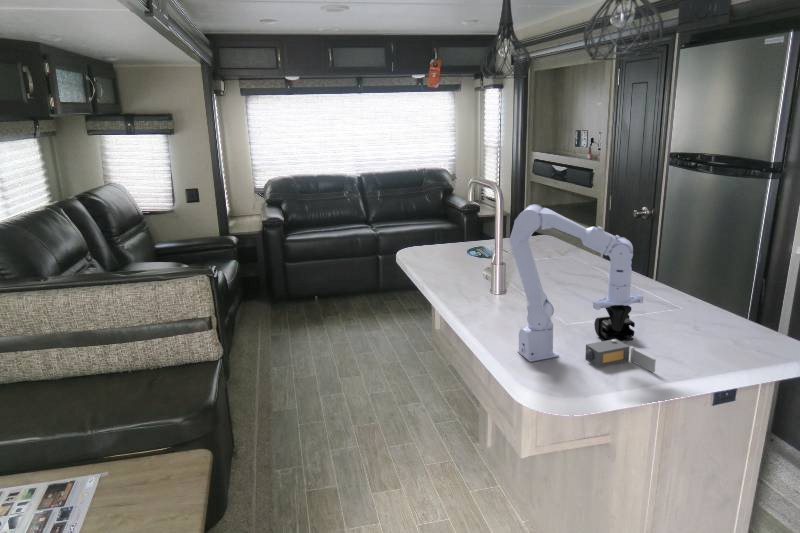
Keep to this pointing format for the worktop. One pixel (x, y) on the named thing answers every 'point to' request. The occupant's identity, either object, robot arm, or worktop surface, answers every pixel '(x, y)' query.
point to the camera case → (607, 352)
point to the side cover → (642, 359)
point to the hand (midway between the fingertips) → (616, 330)
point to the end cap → (607, 333)
